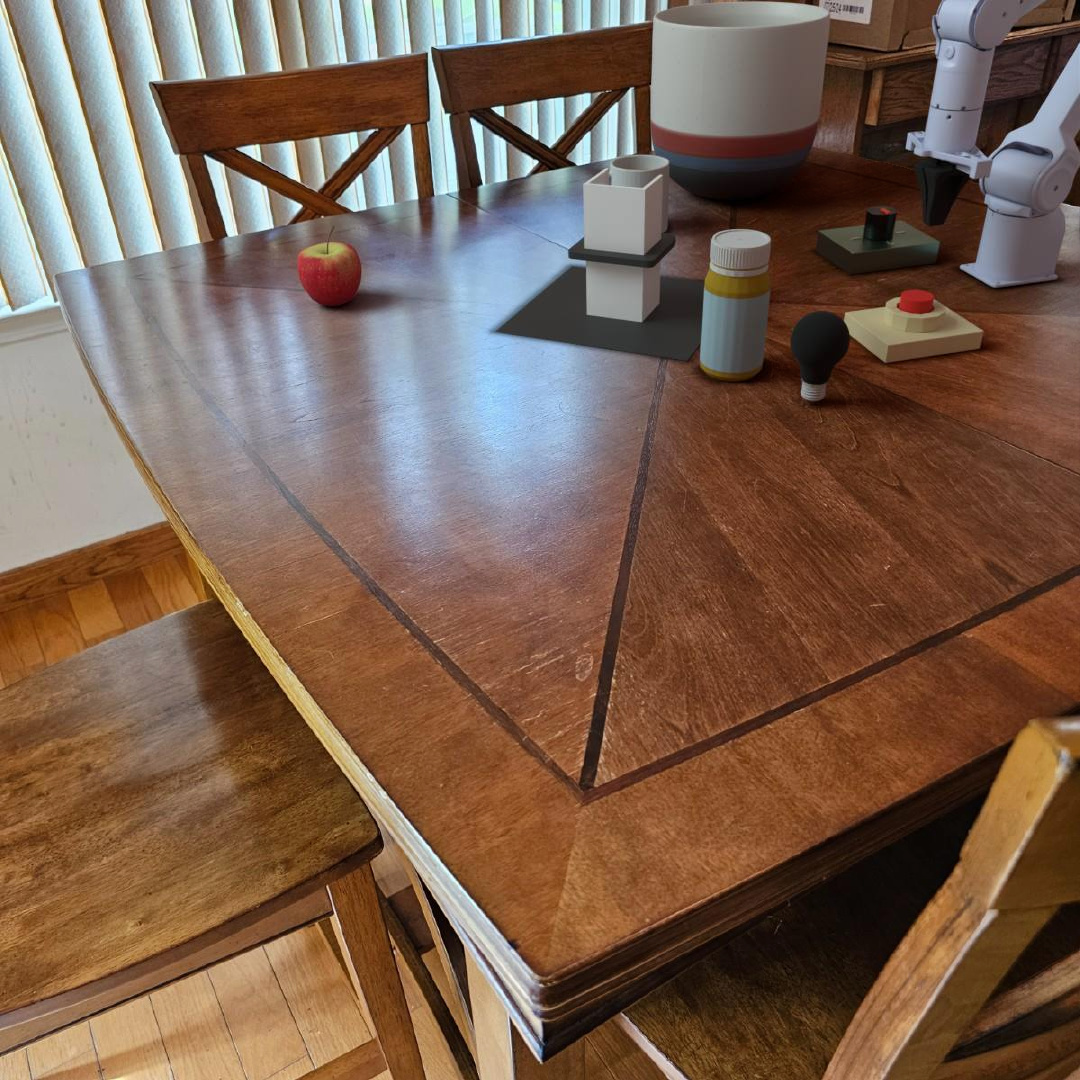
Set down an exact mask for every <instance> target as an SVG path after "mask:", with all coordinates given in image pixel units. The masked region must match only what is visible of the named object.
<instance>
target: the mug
mask: <svg viewBox="0 0 1080 1080" xmlns="http://www.w3.org/2000/svg"><path fill="white" fill-rule="evenodd" d="M669 166H670V163H669V161H668V160H667V159H666V158H663V157H659V156H656V155H655V154H654V155H653V154H631V155H625V156H620V157H617V158H615V159H613V160H611V162H610V164H609V185H612V186H624V187H635V188H644V187H645V186H646V185H647V184H649V183H650V182H651V181H652V180H653V179H655V178H656V177H657V176H658V175H663V193H662V225H661V233H666V232H667V230H668V225H669V223H668V222H669V220H668V219H669V194H670V192H669V189H670V177H669Z"/></svg>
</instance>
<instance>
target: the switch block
mask: <svg viewBox="0 0 1080 1080" xmlns="http://www.w3.org/2000/svg"><path fill="white" fill-rule="evenodd" d="M900 298H901V296H899V297H893V298H891V299H889V300H887V301H886V302H885V306H880V307H873V308H868V309H867V308H866V309H860V310H854V311H846V312H845V313H844V318H843V321H844V322H845V323H846V325H847V327H848V330H849V333H850V337H852V338H853V339H854V340H856V341H857V342H858V343H859V344H860V345H862V346H863V347H864V348H866V349H867V350H868V351H869V352H871V353H872V354H873V355H874V356H876V357H877V358H878V359H879V360H881V361H882V362H883V363H885V364H888V363H894V362H901V361H907V360H914V359H915V360H916V359H920V358H927V357H933V356H940V355H946V354H953V353H959V352H966V351H973V350H979V349H980V348H981V345H982V344H981V343H982V340H983V336H984V330H983V329H981V328H979V327H978V326H977V325H975V324H974V323H972V322H970V321H969V320H967V319H966V318H964V317H963V316H961V315H960V314H958V313H956V312H955V311H953V310H952V309H951V308H949V307H947V306H945V305H944V304H942V303H941V302H939V301H938V300H936V299H934V300H933V305H932V310H931V312H930V313H925V314H911V313H908V312H904V311H901V310H900V309H899V304H900Z"/></svg>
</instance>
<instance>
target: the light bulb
mask: <svg viewBox="0 0 1080 1080" xmlns="http://www.w3.org/2000/svg"><path fill="white" fill-rule="evenodd" d="M789 341H790V349H791V352H792V355H793V356H794V359H796V360H797V363H798V366H799V373H800V378H801V389H800V395H801V397H802V398H803V399H804V400H806V401H807V402H808V403H809V404H815V403H817V402H819V401H821V400H822V399H824V398H825V397H826V391H827V390H826V389H827V383H828V382H829V380H830V378H831V375H832V373H833V370H834V369H835V367H836V366H837V364H839V363H840V362H841V361H842V360H843V359H844V358H845V356H846V355H847V353H848V351H849V347H850V344H851V335H850V333H849V330H848V327H847V325H846V323H845V322H844V319H843V318H842V317H841V316H839V315H837V314H836V313H834V312H831V311H828V310H827V311H825V310H816V311H812V312H810V313H807V314H805V315H804V316H803V317H801V318H800V319H799V320H798V321H797V323H796V324H795V325H794V327H793V328H792V331H791V334H790V339H789Z"/></svg>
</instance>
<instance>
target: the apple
mask: <svg viewBox="0 0 1080 1080" xmlns="http://www.w3.org/2000/svg"><path fill="white" fill-rule="evenodd" d="M335 227H336V225H332V227H331V229H330V231H329V233H328V237H327V241H326V242H321V243H317V244H314V245H312V246H308V247H307V248H305V249H303V250H301V251H300V252H299V254H298V255H297V262H296V266H297V267H296V269H297V276H298V278H299V281H300V283H301V286H302V287H303V290H304V291H305V292H306V294H307V295H308V296H309V298H311V299H312V301H314V302H316V303H317V304H318V305H322V306H327V307H338V306H342V305H345V304H347V303H348V302H350V301H351V300H353V298H355V296H356V295H357V293H358V291H359V288H360V285H361V282H362V263H361V259H360V256H359V253H358V251H357V250H356V248H355V247H354V246H353V245H351V244H350V243H347V242H341V241H340V242H339V241H330V238H331V236H332V233H333V232H334V229H335Z"/></svg>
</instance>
